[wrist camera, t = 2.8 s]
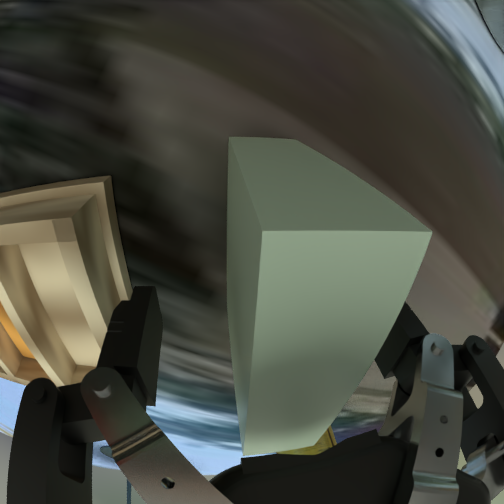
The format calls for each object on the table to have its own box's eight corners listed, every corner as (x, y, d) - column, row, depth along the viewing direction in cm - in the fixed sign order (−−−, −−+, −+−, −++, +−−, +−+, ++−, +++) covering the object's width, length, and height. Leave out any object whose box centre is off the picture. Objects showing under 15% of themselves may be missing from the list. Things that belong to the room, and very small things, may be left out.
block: (228, 136, 11) (262, 231, 4) (295, 139, 12) (432, 232, 4) (227, 310, 16) (243, 455, 9) (275, 308, 17) (313, 445, 9)
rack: (-73, 214, 8) (-102, 241, 5) (110, 175, 11) (70, 213, 7) (-11, 346, 16) (-25, 376, 13) (158, 371, 19) (154, 419, 15)
